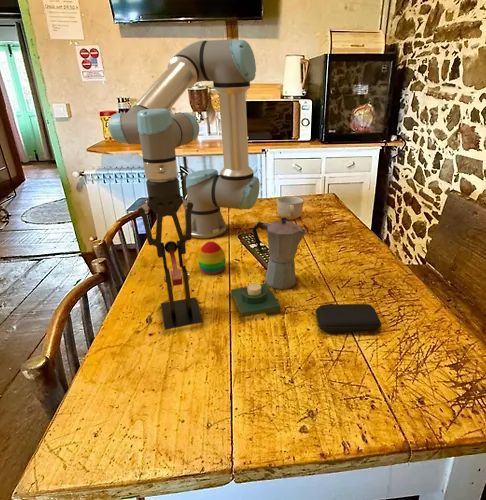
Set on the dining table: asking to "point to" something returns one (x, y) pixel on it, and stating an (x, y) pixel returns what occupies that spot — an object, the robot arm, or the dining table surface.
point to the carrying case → (347, 318)
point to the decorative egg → (211, 258)
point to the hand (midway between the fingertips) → (173, 266)
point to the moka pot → (280, 251)
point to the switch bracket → (180, 305)
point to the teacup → (289, 207)
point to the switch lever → (174, 263)
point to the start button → (254, 289)
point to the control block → (255, 301)
